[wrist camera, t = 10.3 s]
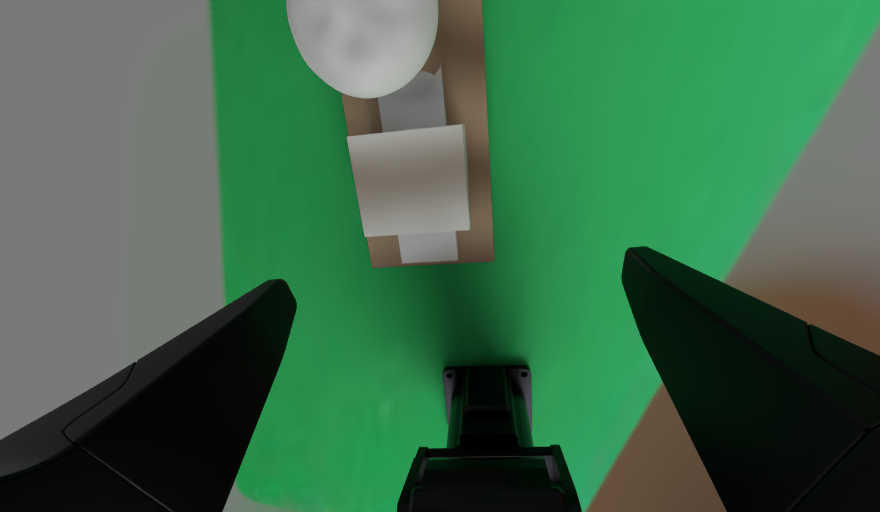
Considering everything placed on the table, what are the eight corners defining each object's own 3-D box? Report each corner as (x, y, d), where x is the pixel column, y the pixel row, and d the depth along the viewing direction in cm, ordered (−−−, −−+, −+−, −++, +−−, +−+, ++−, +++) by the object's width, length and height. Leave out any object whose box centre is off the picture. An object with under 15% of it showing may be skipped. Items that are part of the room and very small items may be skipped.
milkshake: (382, -25, 17) (260, -214, 7) (472, 45, 17) (466, -48, 8) (338, 64, 18) (193, 2, 9) (423, 126, 19) (370, 126, 10)
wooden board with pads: (493, 254, 23) (497, 287, 19) (377, 261, 24) (353, 293, 20) (467, -269, 15) (463, -446, 10) (293, -225, 16) (217, -368, 11)
